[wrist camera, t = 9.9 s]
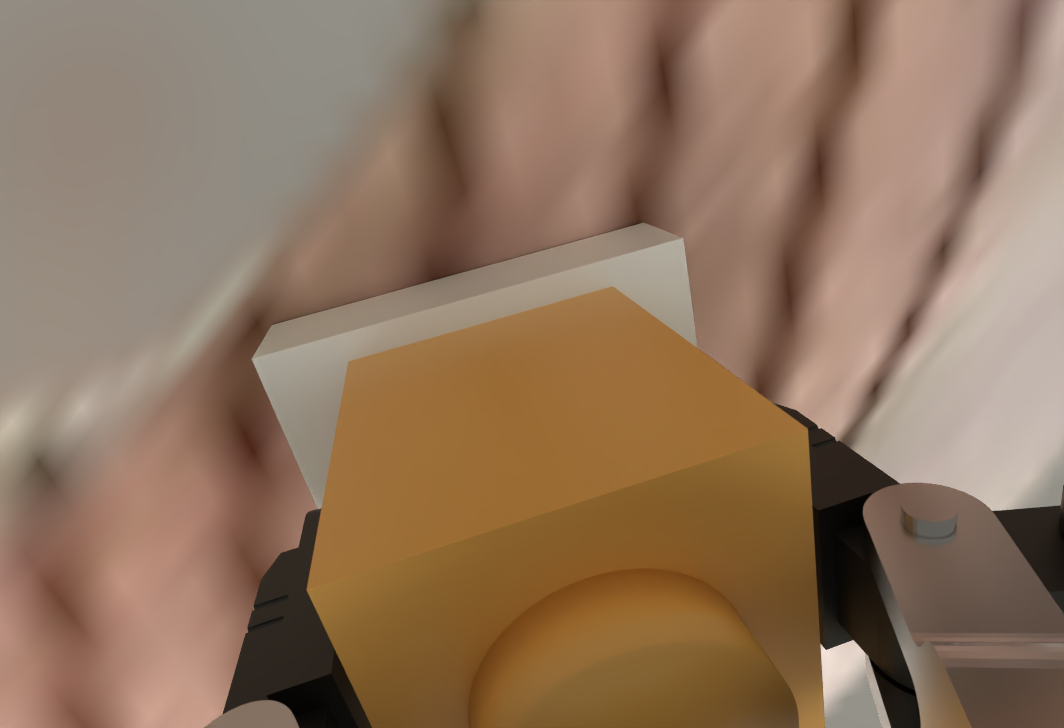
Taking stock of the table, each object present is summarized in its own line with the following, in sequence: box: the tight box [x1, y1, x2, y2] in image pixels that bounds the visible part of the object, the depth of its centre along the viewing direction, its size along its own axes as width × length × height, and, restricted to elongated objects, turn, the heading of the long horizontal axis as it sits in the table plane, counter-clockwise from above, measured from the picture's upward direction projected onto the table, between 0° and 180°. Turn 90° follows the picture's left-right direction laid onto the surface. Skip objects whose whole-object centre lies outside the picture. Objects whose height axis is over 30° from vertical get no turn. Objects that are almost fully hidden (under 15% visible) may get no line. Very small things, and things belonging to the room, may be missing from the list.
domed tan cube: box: [307, 286, 825, 728], centre depth 9 cm, size 5×5×7 cm
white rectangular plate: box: [252, 223, 698, 509], centre depth 15 cm, size 8×14×2 cm, turn 13°
